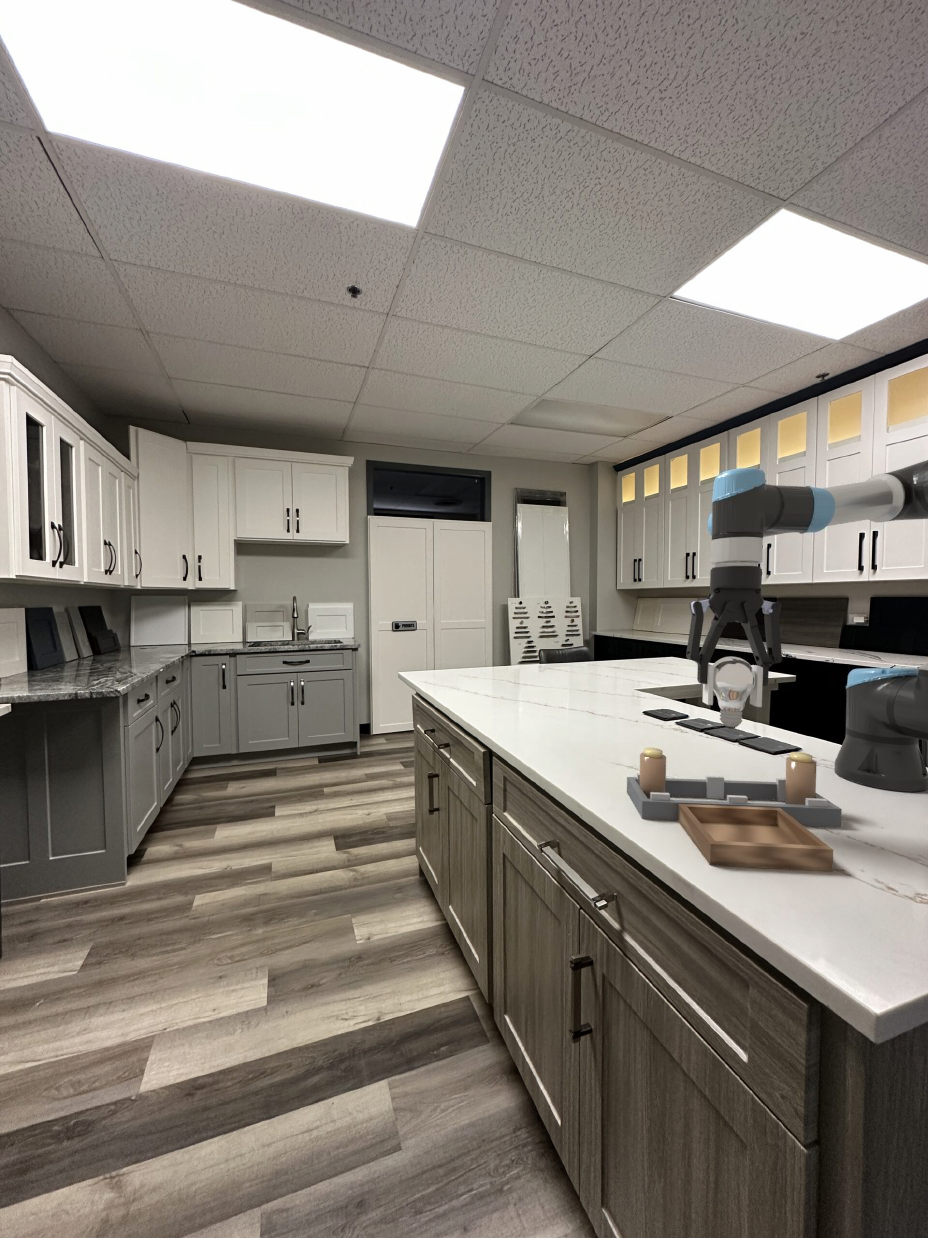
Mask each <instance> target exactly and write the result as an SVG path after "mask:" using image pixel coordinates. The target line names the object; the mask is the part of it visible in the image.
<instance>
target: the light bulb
mask: <svg viewBox="0 0 928 1238" xmlns="http://www.w3.org/2000/svg"><path fill="white" fill-rule="evenodd" d="M713 666H714V680H713V693H714V694H715V696H716V698H717V703H718V706H719V709H720V711H719V713H720V714H719V717H720V718H719V720H720V722H721V723H722V724H723V725H724V726H725V727H726V728H727V729H729V730H730V729H731V730H733V729H736V728H737V727H738V726H740V725H741V724H742V722H743V720H742V719H743V712H742V711H743V710H744V709H745V704H746V701H747V699H748V697H750V693H751V692H752V690H753V689H754V686H755V683H756V675H755V672H754V670H753V668H752V667H751V664H750V663H749V662H748V661H747V660H745V659H743V658H741V657H737V656H725V657H722V658H720V659H718V660H717V661H715V662H714V664H713Z"/></svg>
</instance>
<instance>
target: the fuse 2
mask: <svg viewBox="0 0 928 1238" xmlns="http://www.w3.org/2000/svg"><path fill="white" fill-rule="evenodd" d="M789 755H790V756H788V757H786V758H785V778H786V787H785V801H784V804H796V805H805V800H806V798H816V793H817V791H816V790H817V761H815V760H814V759H813V755H812V754H809V753H806V752H801V751H800V752H799V751H791V752H790V754H789Z"/></svg>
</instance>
